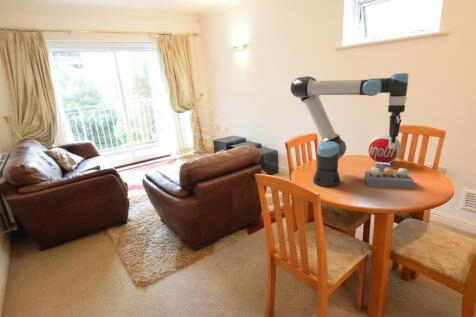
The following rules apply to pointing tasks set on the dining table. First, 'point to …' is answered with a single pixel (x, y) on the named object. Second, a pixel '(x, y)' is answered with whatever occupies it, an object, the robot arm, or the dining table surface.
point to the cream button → (374, 171)
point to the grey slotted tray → (388, 180)
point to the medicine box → (382, 166)
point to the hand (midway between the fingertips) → (391, 148)
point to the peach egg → (388, 172)
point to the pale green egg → (402, 172)
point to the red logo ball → (383, 149)
